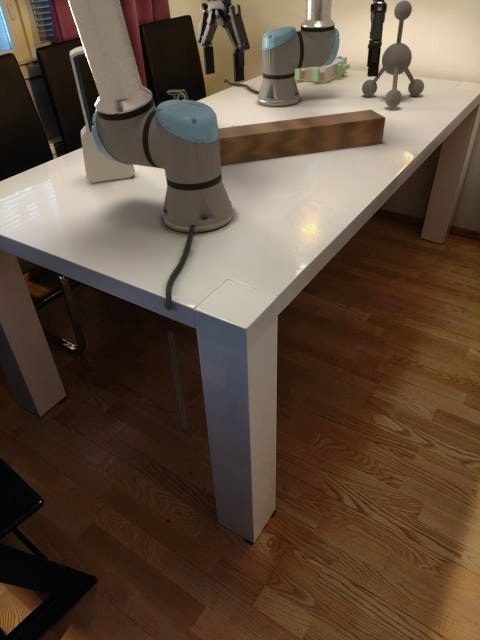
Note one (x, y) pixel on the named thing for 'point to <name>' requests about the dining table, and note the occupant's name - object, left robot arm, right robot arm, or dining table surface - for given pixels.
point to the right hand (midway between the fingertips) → (372, 71)
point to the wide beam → (300, 136)
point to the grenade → (178, 94)
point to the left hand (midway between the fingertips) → (224, 77)
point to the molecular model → (396, 63)
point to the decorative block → (323, 71)
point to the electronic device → (93, 158)
